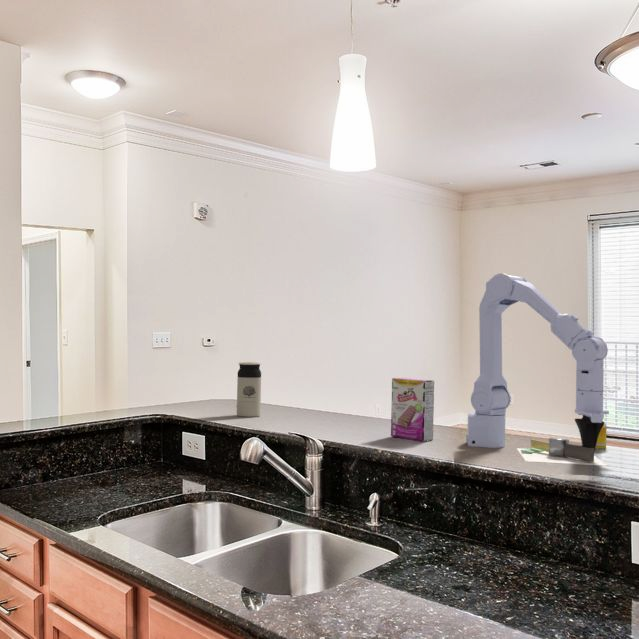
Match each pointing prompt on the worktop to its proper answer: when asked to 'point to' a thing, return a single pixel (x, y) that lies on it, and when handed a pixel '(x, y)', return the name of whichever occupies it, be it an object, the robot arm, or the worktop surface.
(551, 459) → the board
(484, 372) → the robot arm
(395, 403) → the candy bar box
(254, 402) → the travel mug
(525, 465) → the worktop surface
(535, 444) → the dial pointer
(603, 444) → the supplement bottle
